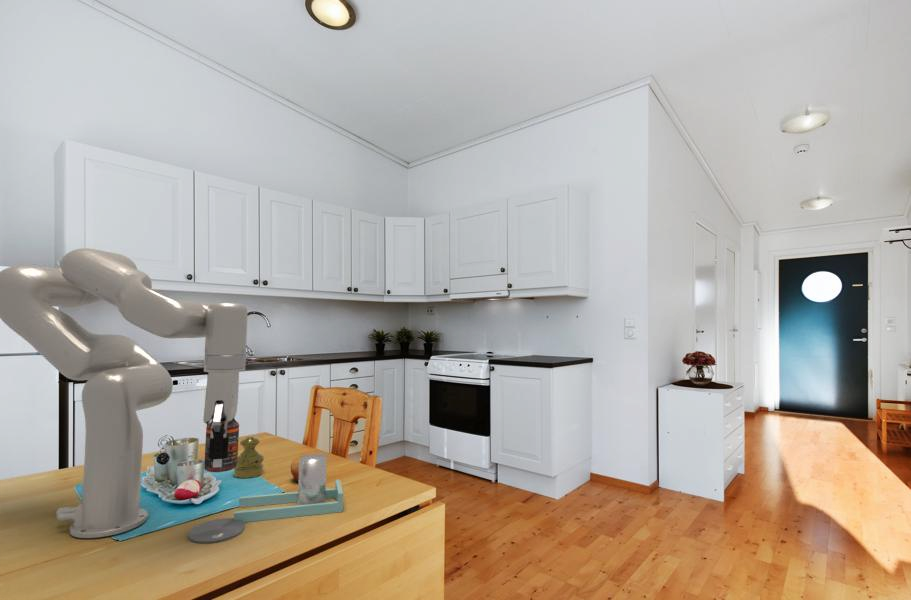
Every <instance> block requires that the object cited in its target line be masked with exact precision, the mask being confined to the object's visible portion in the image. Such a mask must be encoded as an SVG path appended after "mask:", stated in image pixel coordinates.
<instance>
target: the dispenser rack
mask: <svg viewBox="0 0 911 600" xmlns="http://www.w3.org/2000/svg"><path fill="white" fill-rule="evenodd" d="M334 483H335V484H334V485H335V486H334V487H335V488H326V495H325V500H332V499H334V500H335V499H336V500H335V501H327V502H326V501H325V503H316V504H306V505H298V504H296V505H289V506H278V507H277V506H275V507H268V508H267V507H266V508H258V509H257V508H256V509H247V510H238V511H234V512H233V518H234V520H242V521H244V522H245V523H248V522H258V521H267V520H268V521H269V520H276V519H288V518H294V517H295V518H296V517H304V516H307V517H308V516H314V515H325V514H333V513H342V512H343V510H344V509H343V505H344V493H343V487H342V483H341V480H340V479H335V482H334ZM288 503H289V504H291V503H298V491H291V492H282V493H281V492H280V493H269V494H260V495H259V494H258V495H257V494H256V495H244V496H239V498H238V508H249V507H259V506H260V507H261V506H269V505H279V504H282V505H283V504H288Z"/></svg>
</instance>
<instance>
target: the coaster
mask: <svg viewBox="0 0 911 600" xmlns="http://www.w3.org/2000/svg"><path fill="white" fill-rule="evenodd" d="M245 529H246V522H244V521H242V520H234V517H224V518H223V517H221V518H215V519H210V520H207V521H202V522H201V523H198V524H197V525H194V526H193V527H192V528H191V529H190V530H189V531H188V536H187V537H188V540H189V541H190V542H193V543H195V544H215V543H222V542H226V541H228V540H232V539H233V538H236V537H238V536H239V535H242V533H243V532H244V531H245Z"/></svg>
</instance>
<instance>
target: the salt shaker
mask: <svg viewBox="0 0 911 600" xmlns="http://www.w3.org/2000/svg"><path fill="white" fill-rule="evenodd" d="M239 444H240V445H241V446H242V447H243V451H242V452H241V453H240V454H238V459H237V466H236V467H235V468H234V469H233V476H234V477H236V478H237V477H239V478H238V479H250V478H249V477H251V478H255V476H256V477H258V476H261V475H262V474H263V472H264V464H263V462H264V459H265V458H264V456H263V454H261V453H259V451H257V450H256V446H257V445H259V444H260V439H259V438H256V437H254V436H247V437H246V438H244V439H241V440H240V441H239Z"/></svg>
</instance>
